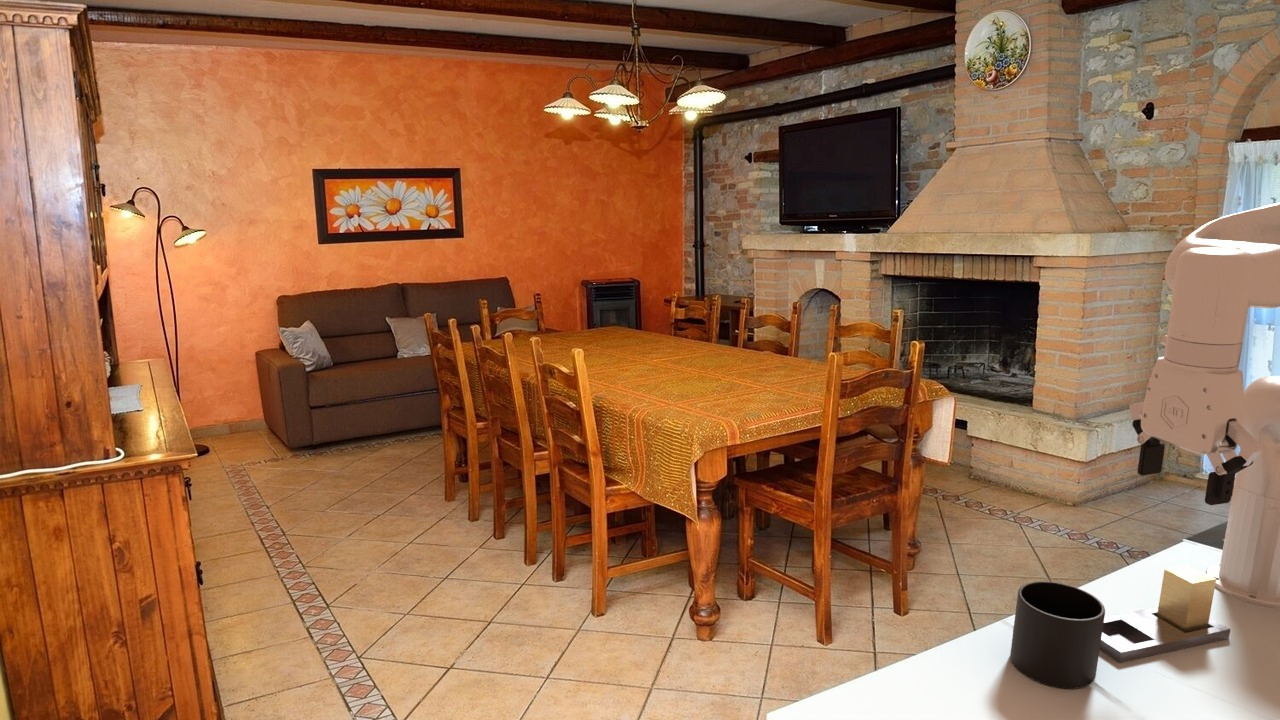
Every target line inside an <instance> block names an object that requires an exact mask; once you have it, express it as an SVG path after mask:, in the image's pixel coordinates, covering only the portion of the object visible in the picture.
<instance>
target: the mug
mask: <svg viewBox="0 0 1280 720" xmlns="http://www.w3.org/2000/svg"><path fill="white" fill-rule="evenodd" d="M1015 606H1016V607H1015V614H1014V623H1013V630H1012V638H1011V639H1012V640H1011V647H1010V659H1011V662H1012V663H1013V665H1014V667H1015V668H1016V669H1017V670H1018V671H1019V672H1021V674H1023V675H1025V676H1026V677H1027V678H1030V679H1031V680H1034V681H1036V682H1038V683H1040V684H1043V685H1047V686H1051V687H1055V688H1059V689H1068V690H1069V689H1080V688H1084V687H1085V688H1086V687H1087V686H1089V685H1091V684H1092V683H1093V682H1094V679H1095V678H1096V676H1097V669H1098V662H1099V655H1100V643H1101V637H1102V630H1103V623H1104V618H1105V617H1106V616H1105V615H1106V608H1105V606H1104V604H1103V602H1102V601H1101V600H1100V599H1098V598H1097V597H1096V596H1094V595H1093V594H1091V593H1089V592H1087V591H1085V590H1083V589H1081V588H1078V587H1075V586H1072V585H1069V584H1066V583H1065V584H1064V583H1061V582H1055V581H1046V580H1045V581H1032V582H1031V581H1030V582H1028V583H1024V584H1023V585H1021V586H1020V587H1019V588H1018V591H1017V598H1016V605H1015Z"/></svg>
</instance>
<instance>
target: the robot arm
mask: <svg viewBox="0 0 1280 720" xmlns="http://www.w3.org/2000/svg"><path fill="white" fill-rule="evenodd" d="M1164 277H1165V281H1166V284H1167V286H1168V288H1169V289H1170V290H1171V291H1172V297H1171V298H1172V299H1171V304H1170V305H1171V306H1170V312H1169V317H1168V319H1169V320H1168V328H1167V334H1166V335H1163V336H1162V337H1161V341H1160V343H1161V345H1163V346H1165V347H1164V353H1163V356H1161V357H1158V358H1157V360H1156V362H1155V365H1154V367H1153V369H1152V372H1151V375H1150V378H1149V382H1148V383H1147V389H1146V392H1145V396H1144V397H1145V398H1144V400H1142V401H1138V402H1134V403H1130V404H1129V406H1128V407H1129V411H1130V415H1131V419H1132V420H1133V421H1132V427H1133V429H1134V431H1135V433H1136V434H1137V436H1136V441H1137V443H1138V444H1139V445H1140V451H1139V457H1138V464H1137V465H1138V466H1137V474H1138V475H1141V476H1148V475H1149V476H1150V475H1157V474H1161V472H1162V469H1163V461H1164V456H1165V455H1164V454H1165V448H1166V446H1165V443H1166V444H1170V445H1172V446H1174V447H1177V448H1181V449H1183V450H1185V451H1187V452H1191V453H1194V454H1197V455H1206V456H1207V458H1208V460H1209V462H1210V464H1211V466H1212V467H1213V470H1214V471H1210V472H1209V473H1208V477H1207V483H1206V490H1205V496H1204V503H1205V504H1207V505H1208V506H1216V505H1222V504H1223V505H1224V504H1228V503H1230V507H1229V512H1228V519H1227V525H1226V530H1225V535H1224V541H1223V548H1222V552H1221V557H1220V562H1218V563H1214V564H1211V565H1209V566H1208V567H1206V570H1205V574H1207V575H1209V576H1211V577H1213V578H1216V584H1215V589H1217V590H1219V591H1220V592H1223V593H1224V594H1227V595H1228V596H1231V597H1233V598H1236V599H1238V600H1242V601H1244V602H1247V603H1249V604H1253V605H1258V606H1263V607H1268V608H1274V609H1280V375H1271V376H1269V375H1268V376H1265V377H1261V378H1258V379H1256V380H1254V381H1252V382H1251V383H1250V384H1249V385H1248V386H1247V387H1246V388H1244V377H1243V376H1244V375H1243V370H1240V369H1239V368H1240V361H1241V355H1242V349H1243V343H1244V342H1243V341H1244V337H1245V332H1246V331H1245V330H1246V325H1247V318H1248V311H1249V308H1254V309H1255V308H1257V309H1258V308H1259V309H1276V308H1280V202H1278V203H1272V204H1268V205H1264V206H1260V207H1256V208H1252V209H1249V210H1244V211H1241V212H1238V213H1237V212H1236V213H1232V214H1229V215H1225V216H1222V217H1219V218H1216V219H1214V220H1212V221H1209V222H1206V223H1205V224H1203V225H1200V227H1198V228H1197V229H1195V230H1194V231H1192V232H1190V233H1189V234H1188V235H1187V236H1186V237H1184V238H1183V239H1182V240H1181V241H1180V242H1178V243H1177V245H1176V246H1175V247H1174V248H1173V249H1172V251H1171V252H1170V254H1169V256H1168V258H1167V261H1166V263H1165V268H1164ZM1163 442H1164V443H1163ZM1237 447H1240V448H1239V452H1238V454H1237V453H1236V451H1235V450H1236V449H1237ZM1221 454H1222V456H1223V457H1224V459H1223V457H1222V456H1221ZM1224 460H1225V461H1224Z"/></svg>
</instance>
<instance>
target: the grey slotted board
mask: <svg viewBox="0 0 1280 720" xmlns="http://www.w3.org/2000/svg"><path fill="white" fill-rule="evenodd" d="M1157 613H1158V606H1157V607H1151V608H1146V609H1142V610H1137V611H1132V612H1127V613H1121V614H1116V615H1110V616H1105V617H1104V623H1103V630H1102V637H1101V643H1100V650H1099V652H1100V651H1101V652H1102V653H1104V654H1105V655H1107V656H1108V657H1109V658H1111V659H1112V660H1115V661H1116V662H1117V663H1119V664H1122V663H1126V662H1132V661H1136V660H1141V659H1145V658H1150V657H1153V656H1158V655H1159V656H1160V655H1163V654H1168V653H1173V652H1177V651H1181V650H1186V649H1190V648H1196V647H1200V646H1204V645H1208V644H1213V643H1218V642H1222V641H1227V640H1229V638H1230V634H1231V628H1229V627H1228V626H1226V625H1224V624H1222V623H1220V622H1218V621H1217V620H1215V619H1212V618H1210V617H1209V623H1208V628H1207V629H1202V630H1198V631H1193V632H1188V633H1184V632H1182V631H1181V630H1179V629H1177V628H1175V627H1174V626H1172V625H1170V624H1168V623H1167V622H1165V621H1163V620H1161V619H1160V618H1158V617H1157Z"/></svg>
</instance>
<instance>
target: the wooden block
mask: <svg viewBox="0 0 1280 720" xmlns="http://www.w3.org/2000/svg"><path fill="white" fill-rule="evenodd" d="M1163 571H1164V572H1163V576H1162V577H1163V578H1162V583H1161V589H1160V595H1159V600H1158V601H1159V602H1158V606H1157V607H1158V613H1157V617H1158V618H1160V619H1161V620H1163V621H1165V622H1167V623H1168V624H1170V625H1172V626H1174V627H1175V628H1177V629H1179V630H1181V631H1182V632H1184V633H1188V632H1193V631H1198V630H1202V629H1207V628H1208V623H1209V618H1210V616H1211V610H1212V605H1213V599H1214V594H1215V589H1216V587H1215V584H1216V578H1213V577H1211V576H1209V575H1207V574H1206V572H1203V571H1202V570H1198V568H1197V569H1196V568H1194V567H1193V566H1190V565H1189V564H1185V565H1181V566H1174V567H1169V568H1164V570H1163Z"/></svg>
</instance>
